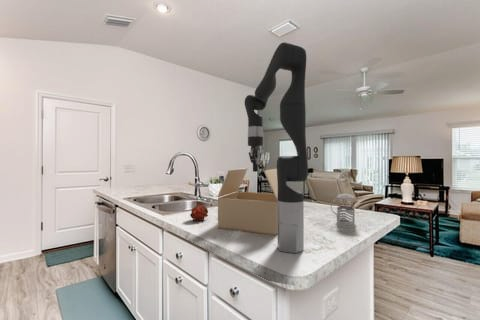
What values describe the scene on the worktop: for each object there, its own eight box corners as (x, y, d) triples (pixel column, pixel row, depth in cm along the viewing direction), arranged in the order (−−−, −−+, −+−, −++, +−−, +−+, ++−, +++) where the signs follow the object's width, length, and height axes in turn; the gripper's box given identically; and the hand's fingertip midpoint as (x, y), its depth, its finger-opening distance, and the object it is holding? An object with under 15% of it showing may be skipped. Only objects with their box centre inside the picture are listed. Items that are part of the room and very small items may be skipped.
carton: (276, 235, 101) (276, 202, 101) (217, 228, 112) (217, 198, 112) (288, 221, 123) (288, 194, 123) (238, 216, 134) (238, 191, 134)
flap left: (229, 170, 110) (228, 169, 110) (218, 197, 112) (217, 196, 112) (247, 168, 131) (247, 167, 131) (237, 190, 133) (237, 190, 134)
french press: (358, 228, 110) (358, 174, 110) (331, 226, 114) (331, 173, 114) (355, 223, 119) (355, 173, 119) (330, 221, 123) (330, 172, 123)
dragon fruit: (208, 220, 132) (193, 229, 122) (198, 210, 135) (182, 218, 125) (214, 209, 128) (199, 217, 118) (203, 199, 131) (188, 206, 121)
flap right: (277, 201, 101) (278, 200, 101) (263, 170, 103) (264, 170, 103) (288, 193, 123) (289, 193, 122) (276, 168, 125) (277, 168, 125)
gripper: (258, 134, 110) (258, 172, 111) (266, 137, 123) (266, 171, 123) (243, 135, 113) (243, 172, 114) (252, 137, 126) (252, 170, 126)
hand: (255, 171), depth 118 cm, fingers closed
